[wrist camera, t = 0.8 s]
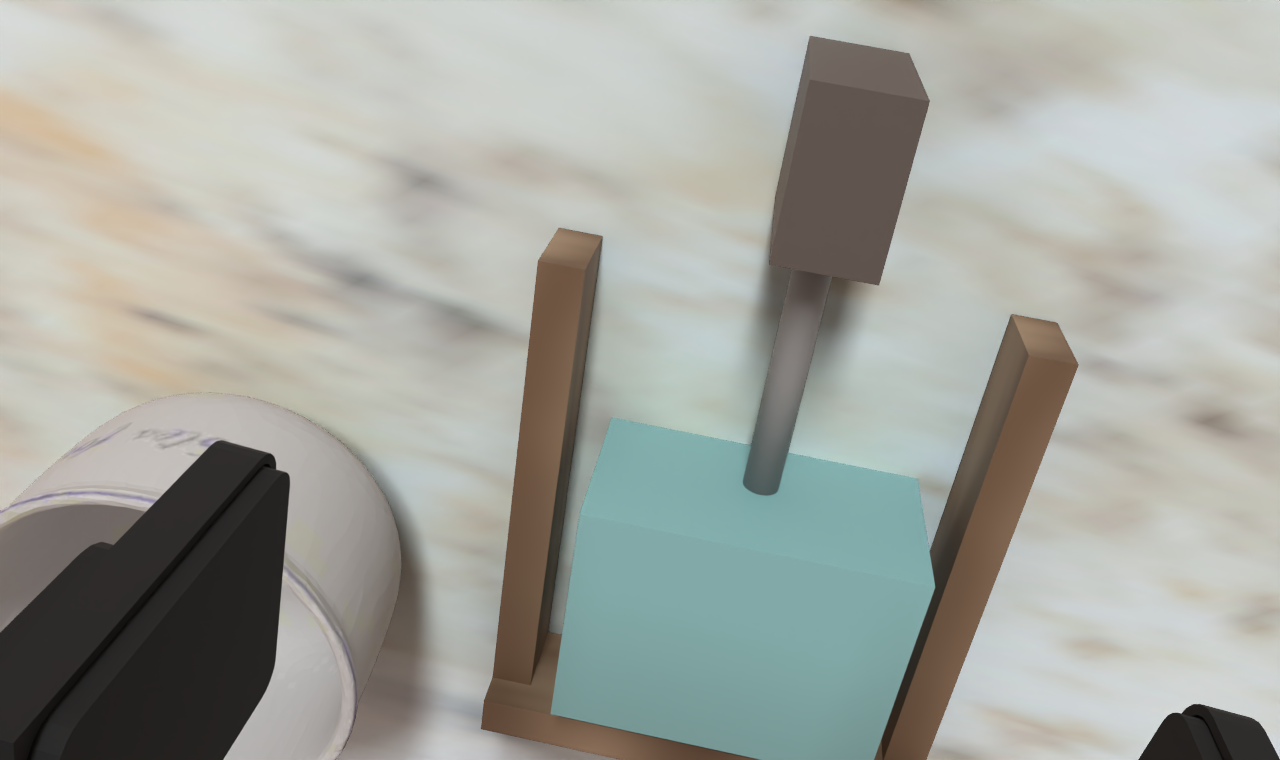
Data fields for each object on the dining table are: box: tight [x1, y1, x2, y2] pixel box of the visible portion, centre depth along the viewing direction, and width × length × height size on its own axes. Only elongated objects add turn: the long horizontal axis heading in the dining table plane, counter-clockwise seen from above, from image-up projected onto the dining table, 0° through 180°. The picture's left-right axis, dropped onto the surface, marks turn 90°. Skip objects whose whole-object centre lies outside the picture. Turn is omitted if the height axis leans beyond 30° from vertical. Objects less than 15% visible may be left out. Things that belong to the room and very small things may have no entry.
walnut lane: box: [481, 228, 1078, 760], centre depth 30 cm, size 13×15×4 cm
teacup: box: [0, 393, 401, 760], centre depth 31 cm, size 14×11×8 cm
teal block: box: [551, 36, 935, 760], centre depth 28 cm, size 9×18×5 cm, turn 171°
